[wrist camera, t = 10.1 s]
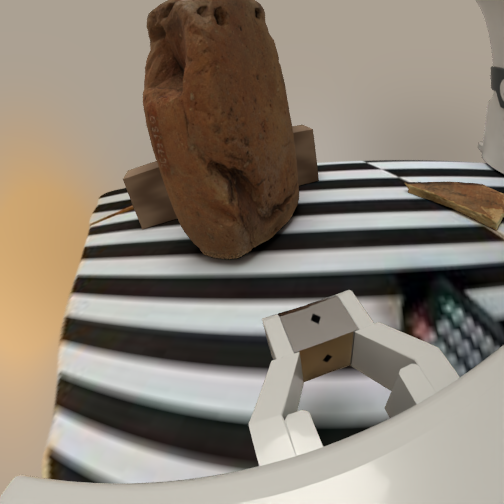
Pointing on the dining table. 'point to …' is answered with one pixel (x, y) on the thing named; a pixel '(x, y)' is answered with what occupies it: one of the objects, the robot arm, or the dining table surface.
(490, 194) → the brown flat angular piece
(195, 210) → the weathered terracotta carving
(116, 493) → the robot arm
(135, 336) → the dining table surface
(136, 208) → the board
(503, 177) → the dining table surface
